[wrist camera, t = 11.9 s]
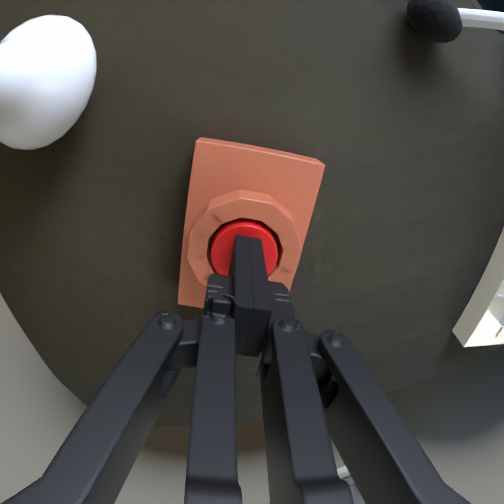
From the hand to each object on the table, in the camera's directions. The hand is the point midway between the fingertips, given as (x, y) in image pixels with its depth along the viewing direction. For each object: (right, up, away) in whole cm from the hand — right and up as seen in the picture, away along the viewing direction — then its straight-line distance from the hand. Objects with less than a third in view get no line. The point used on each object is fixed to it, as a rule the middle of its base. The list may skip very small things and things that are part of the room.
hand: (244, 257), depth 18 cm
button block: (0, +2, +4) cm, 5 cm away
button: (0, +1, +2) cm, 2 cm away
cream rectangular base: (+31, -4, +9) cm, 32 cm away
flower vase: (-14, +13, -2) cm, 19 cm away
